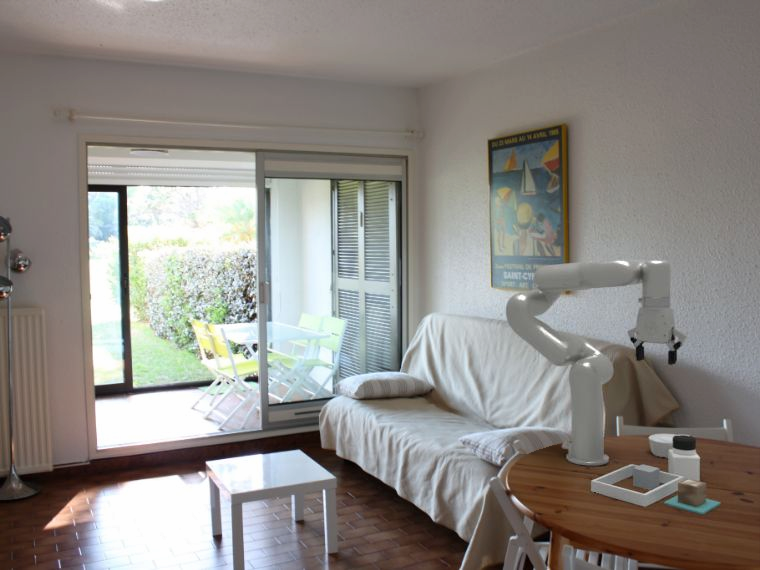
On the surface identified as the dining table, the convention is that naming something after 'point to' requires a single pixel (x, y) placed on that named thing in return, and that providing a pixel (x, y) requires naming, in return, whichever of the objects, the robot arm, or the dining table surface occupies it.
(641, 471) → the slate box
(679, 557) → the dining table surface
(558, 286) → the robot arm
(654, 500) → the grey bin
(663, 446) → the ramekin
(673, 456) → the medicine bottle
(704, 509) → the teal mat
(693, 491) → the walnut box
